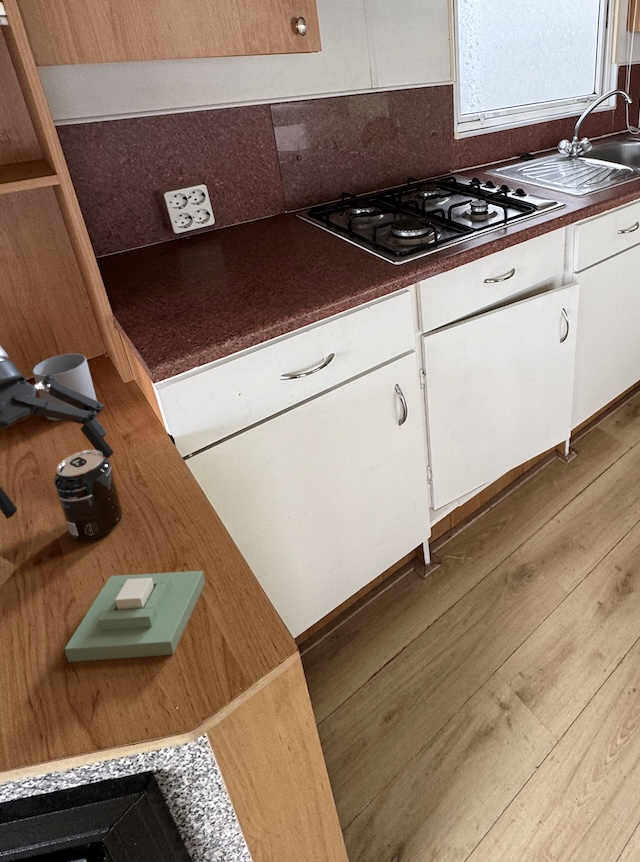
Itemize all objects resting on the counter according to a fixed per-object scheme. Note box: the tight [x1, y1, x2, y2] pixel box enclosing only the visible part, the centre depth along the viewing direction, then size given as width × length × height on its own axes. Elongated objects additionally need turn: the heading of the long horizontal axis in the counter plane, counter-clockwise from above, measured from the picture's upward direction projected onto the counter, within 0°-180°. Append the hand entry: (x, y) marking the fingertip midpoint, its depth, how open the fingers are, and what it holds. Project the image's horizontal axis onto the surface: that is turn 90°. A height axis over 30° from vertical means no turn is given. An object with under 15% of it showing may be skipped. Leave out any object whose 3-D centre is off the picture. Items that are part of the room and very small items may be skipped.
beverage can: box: [53, 449, 124, 541], centre depth 86 cm, size 7×7×12 cm
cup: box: [32, 353, 98, 422], centre depth 114 cm, size 8×8×10 cm
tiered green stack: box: [63, 570, 206, 663], centre depth 73 cm, size 12×10×4 cm
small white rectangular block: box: [115, 578, 154, 610], centre depth 72 cm, size 3×3×2 cm
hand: (63, 483), depth 88 cm, fingers open, 13 cm apart
